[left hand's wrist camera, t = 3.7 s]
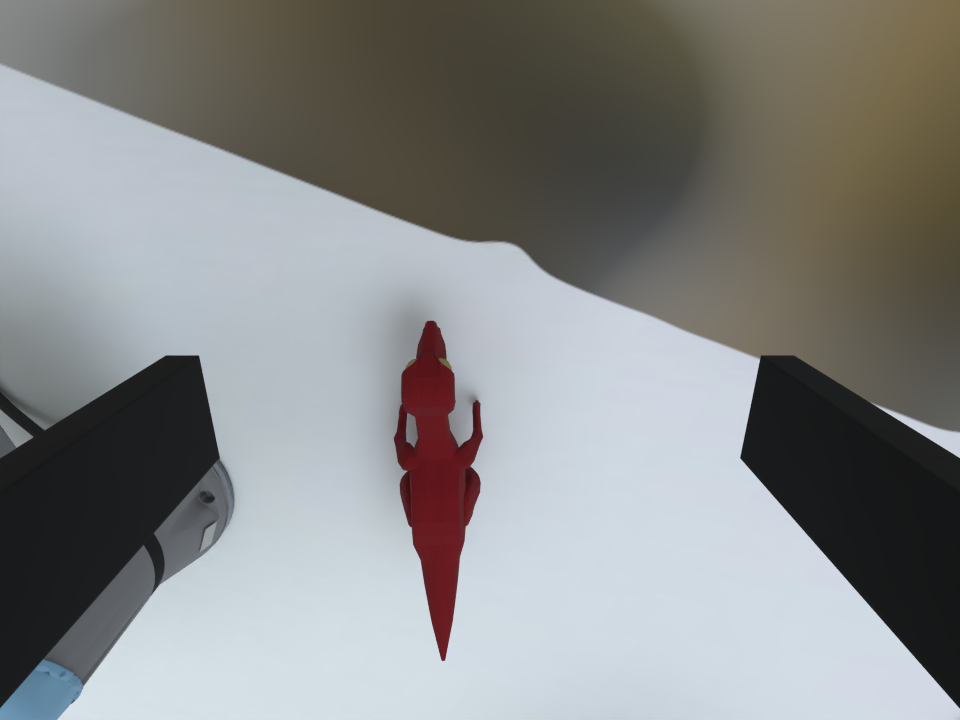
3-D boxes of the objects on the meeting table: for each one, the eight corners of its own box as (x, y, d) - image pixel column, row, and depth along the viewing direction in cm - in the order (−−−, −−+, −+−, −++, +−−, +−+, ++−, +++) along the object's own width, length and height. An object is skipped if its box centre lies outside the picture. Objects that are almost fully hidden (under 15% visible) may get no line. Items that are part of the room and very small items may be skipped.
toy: (481, 367, 51) (478, 307, 37) (489, 653, 44) (488, 717, 30) (407, 368, 51) (375, 310, 37) (402, 654, 44) (359, 720, 30)
